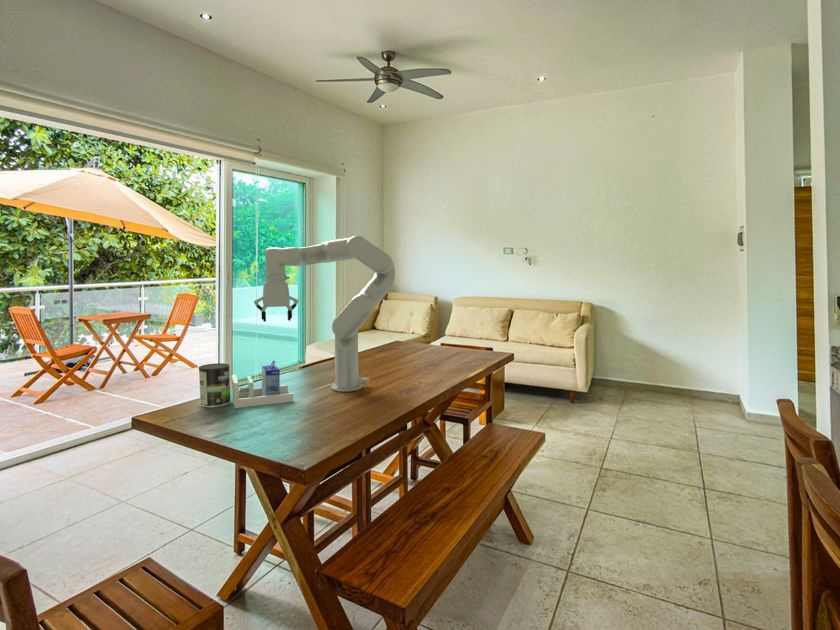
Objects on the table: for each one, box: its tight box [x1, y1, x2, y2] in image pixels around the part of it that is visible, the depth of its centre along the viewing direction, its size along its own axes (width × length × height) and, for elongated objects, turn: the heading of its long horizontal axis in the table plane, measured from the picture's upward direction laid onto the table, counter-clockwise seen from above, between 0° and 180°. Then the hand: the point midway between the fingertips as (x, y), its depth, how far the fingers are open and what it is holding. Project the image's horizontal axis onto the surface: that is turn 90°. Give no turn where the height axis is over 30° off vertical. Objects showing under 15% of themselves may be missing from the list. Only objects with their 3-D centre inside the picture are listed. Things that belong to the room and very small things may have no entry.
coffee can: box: [198, 362, 231, 409], centre depth 168 cm, size 10×10×14 cm
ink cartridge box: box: [261, 360, 281, 396], centre depth 175 cm, size 10×6×14 cm, turn 27°
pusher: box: [239, 375, 255, 398], centre depth 171 cm, size 4×11×8 cm, turn 25°
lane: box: [231, 374, 294, 409], centre depth 174 cm, size 20×14×9 cm
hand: (277, 320), depth 187 cm, fingers open, 9 cm apart
